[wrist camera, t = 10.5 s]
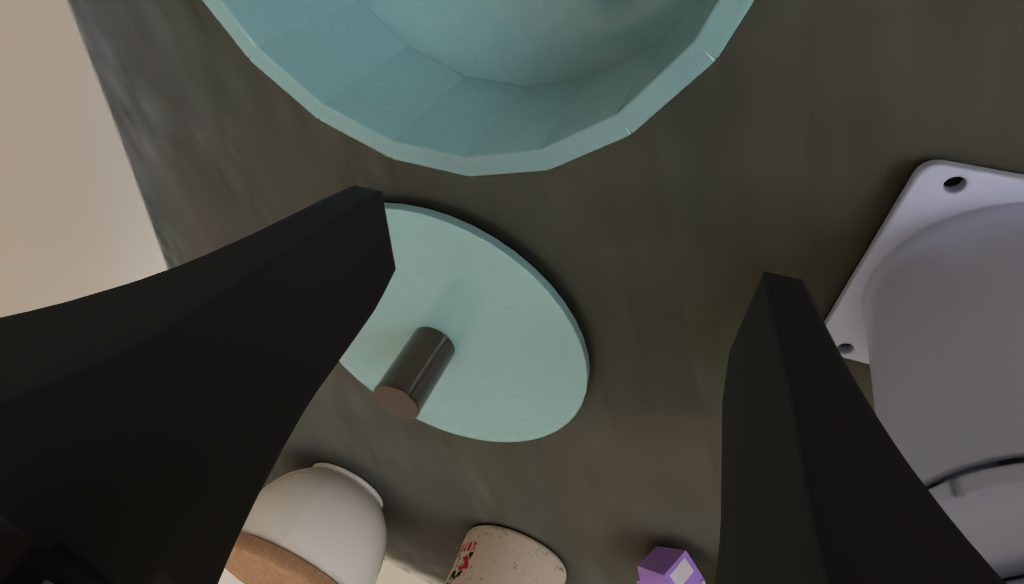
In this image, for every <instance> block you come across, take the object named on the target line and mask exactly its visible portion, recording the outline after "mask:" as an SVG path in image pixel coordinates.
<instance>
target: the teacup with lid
mask: <svg viewBox="0 0 1024 584" xmlns="http://www.w3.org/2000/svg"><path fill="white" fill-rule="evenodd" d="M565 581H566V570H565V567H564V565H563V564H562V562H561V561H560V559H559V558H558V557H557V556H556V555H555V554H554V553H553V552H552V551H550V550H549V549H548V548H547V547H545V546H544V545H542V544H541V543H539V542H537V541H536V540H534V539H532V538H530V537H528V536H526V535H524V534H522V533H519V532H517V531H514V530H511V529H508V528H504V527H499V526H493V525H481V526H476V527H474V528H472V529H471V530H469V531H468V533H467V534H466V537H465V539H464V541H463V543H462V546H461V548H460V550H459V552H458V555H457V557H456V559H455V562H454V564H453V566H452V568H451V571H450V573H449V575H448V577H447V580H446V582H445V584H565Z"/></svg>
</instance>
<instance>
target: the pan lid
mask: <svg viewBox="0 0 1024 584" xmlns="http://www.w3.org/2000/svg"><path fill="white" fill-rule="evenodd" d="M384 206H385V212H386V217H387V223H388V228H389V234H390V240H391V245H392V251H393V256H394V262H395V267H396V270H395V272H394V274H393V276H392V278H391V280H390V282H389V284H388V286H387V288H386V290H385V292H384V294H383V296H382V298H381V300H380V302H379V303H378V305H377V307H376V309H375V310H374V312H373V313H372V315H371V316H370V318H369V319H368V321H367V322H366V324H365V325H364V326H363V328H362V329H361V331H360V332H359V333H358V335H357V336H356V338H355V339H354V341H353V342H352V343H351V345H350V346H349V347H348V349H347V350H346V352H345V353H344V354H343V356H342V357H341V359H340V360H339V362H340V363H341V364H342V365H343V366H344V367H345V368H346V369H347V370H348V371H349V372H350V373H351V374H352V375H353V376H354V377H355V378H357V379H358V380H359V381H360V382H361V383H363V384H364V385H365V386H366V387H367V388H369V389H370V390H371V391H372V392H373V394H374V398H375V400H376V401H377V402H378V404H379V405H380V406H381V407H382V408H383V409H385V410H386V411H387V412H389V413H390V414H392V415H394V416H396V417H399V418H402V419H414V418H416V419H418V420H420V421H422V422H424V423H427V424H429V425H431V426H434V427H436V428H439V429H441V430H444V431H447V432H450V433H454V434H457V435H460V436H464V437H469V438H473V439H478V440H485V441H493V442H521V441H528V440H534V439H537V438H541V437H544V436H547V435H549V434H551V433H553V432H555V431H557V430H559V429H560V428H562V427H563V426H564V425H566V424H567V423H568V422H569V421H570V420H571V419H572V418H573V417H574V416H575V415H576V414H577V412H578V410H579V408H580V407H581V405H582V403H583V401H584V398H585V395H586V391H587V388H588V385H589V375H590V366H589V356H588V351H587V348H586V344H585V341H584V337H583V335H582V333H581V330H580V328H579V326H578V324H577V321H576V319H575V318H574V316H573V315H572V313H571V311H570V310H569V308H568V306H567V305H566V303H565V302H564V300H563V299H562V298H561V297H560V295H559V294H558V293H557V292H556V290H555V289H554V288H553V286H552V285H551V284H550V283H549V282H548V281H547V280H546V279H545V278H544V277H543V276H542V275H541V274H540V273H539V272H538V271H537V270H536V269H535V268H534V267H533V266H532V265H531V264H529V263H528V262H527V261H526V260H525V259H523V258H522V257H521V256H520V255H519V254H518V253H516V252H515V251H514V250H512V249H511V248H509V247H508V246H506V245H505V244H503V243H502V242H500V241H499V240H498V239H496V238H495V237H493V236H491V235H489V234H487V233H486V232H484V231H482V230H480V229H478V228H476V227H475V226H473V225H471V224H468V223H466V222H464V221H461V220H459V219H457V218H454V217H452V216H450V215H447V214H443V213H440V212H437V211H434V210H431V209H427V208H423V207H418V206H413V205H407V204H398V203H384Z"/></svg>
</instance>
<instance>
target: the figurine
mask: <svg viewBox="0 0 1024 584" xmlns="http://www.w3.org/2000/svg"><path fill="white" fill-rule="evenodd" d="M637 567H638V573H639V578H638V579H637V580H636V583H637V584H706V583H705V580H704V578H703V576H702V575H701V573H700V572H699V570H698V569H697V567H696V565H695V564H694V562H693V561H692V559H691V558H690V556H689V554H688V553H687V551H686V550H681V549H673V548H665V547H658V546H656V547H655V548H654V549H653V550H652V551H651V552H650V553H649V554H648V555H647V556H646V557H645V558H644V559H643V560H642V561H641V562H640V563H639V564H638V565H637Z"/></svg>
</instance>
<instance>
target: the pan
mask: <svg viewBox="0 0 1024 584" xmlns="http://www.w3.org/2000/svg"><path fill="white" fill-rule="evenodd" d="M202 1H203V2H204V3H205V4H206V6H207V7H208V8H209V10H210V11H211V12H212V13H213V15H214V16H215V17H216V18H217V20H218V21H219V22H220V23H221V25H222V26H223V27H224V29H225V30H226V31H227V32H228V34H229V35H230V36H231V37H232V39H233V40H234V41H235V42H236V44H237V45H238V46H239V48H240V49H241V50H242V51H243V53H244V54H245V55H246V56H247V57H248V58H249V60H250V61H251V62H252V63H253V64H254V65H256V66H257V67H258V68H259V69H260V70H261V71H263V72H264V73H265V74H266V75H267V76H268V77H270V78H271V79H272V80H273V81H274V82H275V83H276V84H278V85H279V86H280V87H281V88H282V89H283V90H285V91H286V92H287V93H288V94H289V95H290V96H291V97H293V98H294V99H295V100H296V101H297V102H298V103H300V104H301V105H302V106H303V107H304V108H305V109H306V110H308V111H309V112H310V113H311V114H312V115H313V116H315V117H316V118H317V119H319V120H320V121H322V122H324V123H326V124H328V125H329V126H331V127H333V128H335V129H337V130H339V131H341V132H342V133H344V134H346V135H348V136H350V137H352V138H354V139H356V140H357V141H359V142H361V143H363V144H365V145H367V146H369V147H370V148H372V149H374V150H376V151H378V152H380V153H382V154H384V155H385V156H387V157H389V158H393V159H395V160H400V161H404V162H408V163H413V164H417V165H421V166H425V167H430V168H434V169H438V170H443V171H447V172H451V173H456V174H460V175H464V176H467V175H468V176H481V175H494V174H507V173H520V172H533V171H546V170H550V169H552V168H555V167H557V166H559V165H562V164H564V163H566V162H569V161H571V160H573V159H576V158H578V157H580V156H583V155H585V154H587V153H590V152H592V151H594V150H597V149H599V148H601V147H604V146H606V145H608V144H611V143H613V142H615V141H618V140H620V139H623V138H625V137H627V136H630V135H631V133H633V132H635V131H636V130H637V129H638V128H640V127H641V126H642V125H643V124H644V123H645V122H646V121H647V120H649V119H650V118H651V117H652V116H653V115H654V114H655V113H657V112H658V111H659V110H660V109H661V108H662V107H663V106H665V105H666V104H667V103H668V102H669V101H670V100H671V99H673V98H674V97H675V96H676V95H677V94H678V93H679V92H681V91H682V90H683V89H684V88H685V87H686V86H687V85H689V84H690V83H691V82H692V81H693V80H694V79H695V78H697V77H698V76H699V75H700V74H701V73H702V72H703V71H705V70H706V69H707V68H708V67H709V66H710V65H711V64H713V63H714V62H715V60H716V58H717V57H719V56H720V54H721V53H722V51H723V50H724V48H725V46H726V45H727V43H728V42H729V40H730V39H731V37H732V35H733V34H734V32H735V31H736V29H737V28H738V26H739V24H740V23H741V21H742V20H743V18H744V17H745V15H746V13H747V12H748V10H749V9H750V7H751V6H752V4H753V2H754V1H755V0H202Z"/></svg>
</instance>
